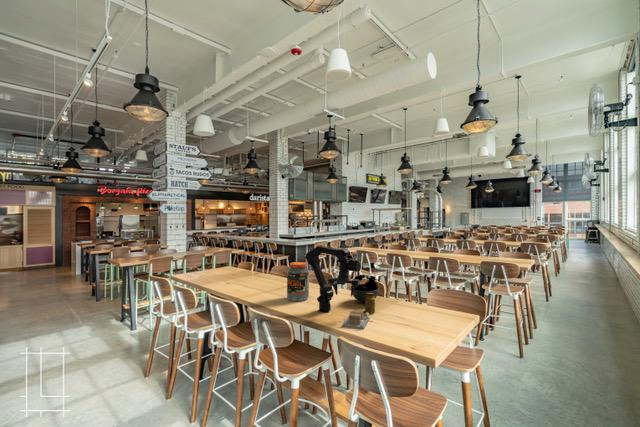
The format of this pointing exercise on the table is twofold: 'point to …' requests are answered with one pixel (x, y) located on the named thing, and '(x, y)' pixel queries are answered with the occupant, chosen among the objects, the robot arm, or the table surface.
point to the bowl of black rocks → (365, 288)
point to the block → (356, 317)
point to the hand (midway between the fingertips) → (344, 295)
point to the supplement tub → (298, 281)
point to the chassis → (361, 326)
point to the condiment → (369, 303)
